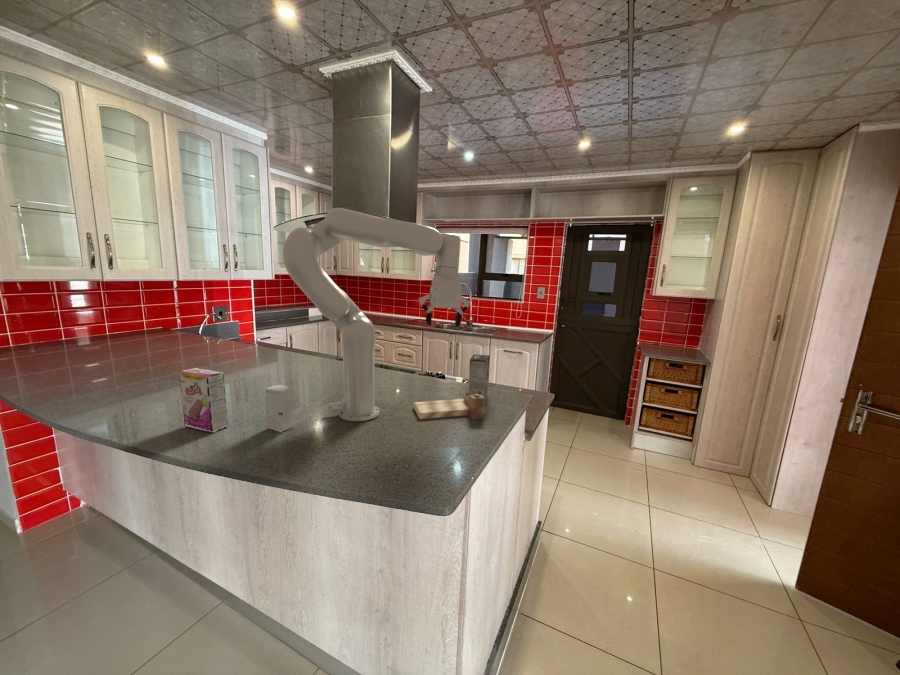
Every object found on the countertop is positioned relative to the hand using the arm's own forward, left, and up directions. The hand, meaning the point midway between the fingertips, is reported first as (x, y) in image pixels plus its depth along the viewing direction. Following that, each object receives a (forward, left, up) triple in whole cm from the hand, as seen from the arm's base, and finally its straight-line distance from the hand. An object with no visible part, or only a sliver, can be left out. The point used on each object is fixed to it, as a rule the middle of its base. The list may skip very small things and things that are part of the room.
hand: (443, 325), depth 115 cm
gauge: (+9, -7, -28) cm, 31 cm away
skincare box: (-49, -7, -29) cm, 57 cm away
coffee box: (+16, +5, -29) cm, 33 cm away
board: (+2, -4, -28) cm, 29 cm away
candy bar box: (-69, -2, -29) cm, 75 cm away
